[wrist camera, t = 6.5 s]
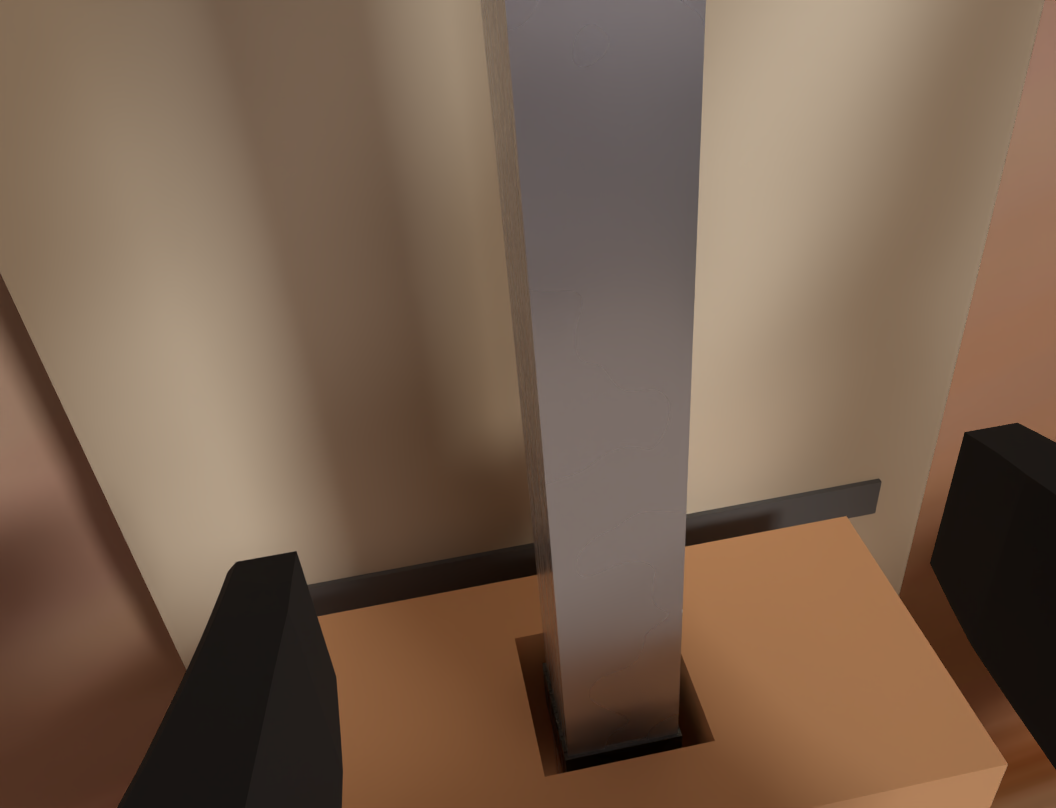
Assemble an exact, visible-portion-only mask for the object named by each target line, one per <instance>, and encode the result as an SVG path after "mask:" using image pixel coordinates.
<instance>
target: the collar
mask: <svg viewBox="0 0 1056 808" xmlns="http://www.w3.org/2000/svg"><path fill="white" fill-rule="evenodd" d="M317 617H318V620H319V623H320V627H321V630H322V633H323V636H324V639H325V642H326V646H327V649H328V652H329V655H330V658H331V661H332V664H333V668H334V671H335V674H336V679H337V692H338V705H339V718H340V732H341V747H342V763H343V788H342V808H990V806H991V804H992V801H993V799H994V797H995V794H996V792H997V789H998V787H999V785H1000V782H1001V780H1002V777H1003V775H1004V773H1005V770H1006V768H1007V765H1008V764H1007V762H1006V761H1005V759H1004V757H1003V756H1002V754H1001V753H1000V751H999V750H998V748H997V747H996V745H995V744H994V742H993V741H992V739H991V737H990V736H989V734H988V733H987V731H986V730H985V728H984V727H983V725H982V724H981V722H980V721H979V719H978V718H977V716H976V714H975V713H974V711H973V710H972V708H971V707H970V705H969V704H968V702H967V701H966V699H965V698H964V696H963V694H962V693H961V691H960V690H959V688H958V687H957V685H956V684H955V682H954V681H953V679H952V678H951V676H950V674H949V673H948V671H947V670H946V668H945V667H944V665H943V664H942V662H941V661H940V659H939V658H938V656H937V654H936V653H935V651H934V650H933V648H932V647H931V645H930V644H929V642H928V641H927V639H926V638H925V636H924V634H923V633H922V631H921V630H920V628H919V627H918V625H917V624H916V622H915V621H914V619H913V618H912V616H911V614H910V613H909V611H908V610H907V608H906V607H905V605H904V604H903V602H902V601H901V599H900V598H899V596H898V594H897V593H896V591H895V590H894V588H893V587H892V585H891V584H890V582H889V581H888V579H887V578H886V576H885V574H884V573H883V571H882V570H881V568H880V567H879V565H878V564H877V562H876V561H875V559H874V558H873V556H872V554H871V553H870V551H869V550H868V548H867V547H866V545H865V544H864V542H863V541H862V539H861V538H860V536H859V534H858V533H857V531H856V530H855V528H854V527H853V525H852V524H851V522H850V521H849V519H848V518H847V516H844V517H839V518H834V519H828V520H823V521H818V522H813V523H807V524H802V525H797V526H791V527H786V528H781V529H776V530H770V531H765V532H760V533H755V534H749V535H744V536H739V537H734V538H728V539H723V540H718V541H712V542H707V543H702V544H697V545H691V546H686V547H685V561H684V587H683V613H682V639H681V665H680V691H679V717H678V725H679V728H680V731H681V734H682V748H679V749H675V750H670V751H665V752H660V753H656V754H651V755H646V756H641V757H637V758H632V759H627V760H623V761H618V762H613V763H608V764H604V765H599V766H594V767H590V768H585V769H580V770H575V771H571V772H566V773H561V774H557V771H556V761H555V751H554V741H553V730H552V724H551V720H550V716H549V712H548V707H547V703H546V695H545V685H544V675H543V666H542V663H546V660H545V650H544V639H543V629H542V619H541V609H540V599H539V589H538V579H537V575H533V576H528V577H523V578H518V579H512V580H507V581H502V582H496V583H491V584H486V585H481V586H475V587H470V588H465V589H460V590H454V591H449V592H444V593H439V594H433V595H428V596H423V597H417V598H412V599H407V600H402V601H396V602H391V603H386V604H381V605H375V606H370V607H365V608H360V609H354V610H349V611H344V612H338V613H333V614H328V615H323V616H317Z"/></svg>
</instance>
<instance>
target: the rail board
mask: <svg viewBox="0 0 1056 808" xmlns="http://www.w3.org/2000/svg"><path fill="white" fill-rule="evenodd" d="M1044 1H1045V0H706V14H705V40H704V66H703V92H702V118H701V145H700V171H699V197H698V223H697V249H696V275H695V301H694V327H693V353H692V379H691V405H690V431H689V457H688V483H687V509H686V535H685V547H686V546H691V545H697V544H702V543H707V542H712V541H718V540H723V539H728V538H734V537H739V536H744V535H749V534H755V533H760V532H765V531H770V530H776V529H781V528H786V527H791V526H797V525H802V524H807V523H813V522H818V521H823V520H828V519H834V518H839V517H844V516H847V518H848V519H849V521H850V522H851V524H852V525H853V527H854V528H855V530H856V531H857V533H858V534H859V536H860V538H861V539H862V541H863V542H864V544H865V545H866V547H867V548H868V550H869V551H870V553H871V554H872V556H873V558H874V559H875V561H876V562H877V564H878V565H879V567H880V568H881V570H882V571H883V573H884V574H885V576H886V578H887V579H888V581H889V582H890V584H891V585H892V587H893V588H894V590H895V591H896V593H897V594H898V596H899V594H900V590H901V586H902V582H903V578H904V573H905V569H906V565H907V561H908V557H909V553H910V549H911V545H912V541H913V537H914V533H915V528H916V524H917V520H918V516H919V512H920V508H921V504H922V500H923V496H924V492H925V488H926V483H927V479H928V475H929V471H930V467H931V463H932V459H933V455H934V451H935V447H936V443H937V438H938V434H939V430H940V426H941V422H942V418H943V414H944V410H945V406H946V402H947V398H948V393H949V389H950V385H951V381H952V377H953V373H954V369H955V365H956V361H957V357H958V353H959V348H960V344H961V340H962V336H963V332H964V328H965V324H966V320H967V316H968V312H969V308H970V303H971V299H972V295H973V291H974V287H975V283H976V279H977V275H978V271H979V267H980V263H981V258H982V254H983V250H984V246H985V242H986V238H987V234H988V230H989V226H990V222H991V218H992V213H993V209H994V205H995V201H996V197H997V193H998V189H999V185H1000V181H1001V177H1002V173H1003V168H1004V164H1005V160H1006V156H1007V152H1008V148H1009V144H1010V140H1011V136H1012V132H1013V128H1014V123H1015V119H1016V115H1017V111H1018V107H1019V103H1020V99H1021V95H1022V91H1023V87H1024V83H1025V78H1026V74H1027V70H1028V66H1029V62H1030V58H1031V54H1032V50H1033V46H1034V42H1035V38H1036V33H1037V29H1038V25H1039V21H1040V17H1041V13H1042V9H1043V5H1044ZM0 274H1V276H2V278H3V280H4V282H5V284H6V286H7V288H8V291H9V293H10V295H11V297H12V299H13V301H14V303H15V306H16V308H17V310H18V312H19V314H20V316H21V318H22V320H23V323H24V325H25V327H26V329H27V331H28V333H29V335H30V338H31V340H32V342H33V344H34V346H35V348H36V350H37V352H38V355H39V357H40V359H41V361H42V363H43V365H44V367H45V370H46V372H47V374H48V376H49V378H50V380H51V382H52V384H53V387H54V389H55V391H56V393H57V395H58V397H59V399H60V402H61V404H62V406H63V408H64V410H65V412H66V414H67V416H68V419H69V421H70V423H71V425H72V427H73V429H74V431H75V434H76V436H77V438H78V440H79V442H80V444H81V446H82V448H83V451H84V453H85V455H86V457H87V459H88V461H89V463H90V466H91V468H92V470H93V472H94V474H95V476H96V478H97V480H98V483H99V485H100V487H101V489H102V491H103V493H104V495H105V498H106V500H107V502H108V504H109V506H110V508H111V510H112V512H113V515H114V517H115V519H116V521H117V523H118V525H119V527H120V530H121V532H122V534H123V536H124V538H125V540H126V542H127V544H128V547H129V549H130V551H131V553H132V555H133V557H134V559H135V562H136V564H137V566H138V568H139V570H140V572H141V574H142V576H143V579H144V581H145V583H146V585H147V587H148V589H149V591H150V594H151V596H152V598H153V600H154V602H155V604H156V606H157V608H158V611H159V613H160V615H161V617H162V619H163V621H164V623H165V626H166V628H167V630H168V632H169V634H170V636H171V638H172V640H173V643H174V645H175V647H176V649H177V651H178V653H179V655H180V658H181V660H182V662H183V664H184V666H185V668H186V670H187V668H188V666H189V664H190V661H191V659H192V657H193V655H194V653H195V650H196V648H197V646H198V644H199V641H200V639H201V637H202V634H203V632H204V630H205V627H206V625H207V623H208V620H209V618H210V615H211V613H212V610H213V608H214V606H215V603H216V601H217V598H218V596H219V593H220V591H221V588H222V585H223V583H224V580H225V577H226V575H227V572H228V571H229V570H230V568H231V567H232V566H233V565H234V564H235V563H236V562H238V561H244V560H249V559H255V558H260V557H266V556H272V555H277V554H283V553H288V552H294V551H297V554H298V557H299V560H300V563H301V566H302V570H303V573H304V576H305V579H306V582H307V585H308V589H309V592H310V595H311V598H312V601H313V604H314V608H315V611H316V614H317V616H323V615H328V614H333V613H338V612H344V611H349V610H354V609H360V608H365V607H370V606H375V605H381V604H386V603H391V602H396V601H402V600H407V599H412V598H417V597H423V596H428V595H433V594H439V593H444V592H449V591H454V590H460V589H465V588H470V587H475V586H481V585H486V584H491V583H496V582H502V581H507V580H512V579H518V578H523V577H528V576H533V575H537V569H536V559H535V548H534V538H533V528H532V518H531V508H530V498H529V488H528V478H527V468H526V457H525V447H524V437H523V427H522V417H521V407H520V397H519V387H518V377H517V366H516V356H515V346H514V336H513V326H512V316H511V306H510V296H509V286H508V276H507V265H506V255H505V245H504V235H503V225H502V215H501V205H500V195H499V185H498V174H497V164H496V154H495V144H494V134H493V124H492V114H491V104H490V94H489V83H488V73H487V63H486V53H485V43H484V33H483V23H482V13H481V3H480V0H0Z"/></svg>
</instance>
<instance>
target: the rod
mask: <svg viewBox="0 0 1056 808" xmlns="http://www.w3.org/2000/svg"><path fill="white" fill-rule="evenodd" d="M480 3H481V13H482V23H483V33H484V43H485V53H486V63H487V73H488V83H489V94H490V104H491V114H492V124H493V134H494V144H495V154H496V164H497V174H498V185H499V195H500V205H501V215H502V225H503V235H504V245H505V255H506V265H507V276H508V286H509V296H510V306H511V316H512V326H513V336H514V346H515V356H516V366H517V377H518V387H519V397H520V407H521V417H522V427H523V437H524V447H525V457H526V468H527V478H528V488H529V498H530V508H531V518H532V528H533V538H534V548H535V559H536V569H537V579H538V589H539V599H540V609H541V619H542V629H543V639H544V650H545V660H546V663H542V666H543V675H544V685H545V695H546V703H547V707H548V712H549V716H550V720H551V724H552V730H553V741H554V751H555V761H556V771H557V774H561V773H566V772H571V771H575V770H580V769H585V768H590V767H594V766H599V765H604V764H608V763H613V762H618V761H623V760H627V759H632V758H637V757H641V756H646V755H651V754H656V753H660V752H665V751H670V750H675V749H679V748H682V734H681V731H680V728H679V725H678V717H679V691H680V665H681V639H682V613H683V587H684V561H685V535H686V509H687V483H688V457H689V431H690V405H691V379H692V353H693V327H694V301H695V275H696V249H697V223H698V197H699V171H700V145H701V118H702V92H703V66H704V40H705V14H706V0H480Z"/></svg>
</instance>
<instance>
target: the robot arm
mask: <svg viewBox="0 0 1056 808" xmlns="http://www.w3.org/2000/svg"><path fill="white" fill-rule="evenodd" d="M930 564H931V566H932V568H933V570H934V572H935V574H936V576H937V578H938V581H939V583H940V585H941V587H942V589H943V591H944V593H945V595H946V597H947V599H948V601H949V603H950V605H951V607H952V609H953V611H954V613H955V615H956V617H957V619H958V621H959V623H960V625H961V626H962V628H963V630H964V632H965V634H966V636H967V638H968V640H969V642H970V643H971V645H972V647H973V648H974V650H975V651H976V653H977V654H978V656H979V658H980V659H981V661H982V662H983V664H984V665H985V667H986V668H987V670H988V671H989V673H990V674H991V676H992V677H993V679H994V680H995V681H996V683H997V684H998V686H999V687H1000V689H1001V690H1002V692H1003V693H1004V695H1005V696H1006V698H1007V699H1008V701H1009V702H1010V704H1011V705H1012V707H1013V708H1014V710H1015V711H1016V713H1017V714H1018V715H1019V717H1020V718H1021V720H1022V721H1023V723H1024V724H1025V726H1026V727H1027V729H1028V730H1029V731H1030V733H1031V734H1032V736H1033V737H1034V739H1035V740H1036V742H1037V743H1038V745H1039V746H1040V747H1041V749H1042V750H1043V752H1044V753H1045V755H1046V756H1047V758H1048V759H1049V761H1050V762H1051V763H1052V765H1053V766H1054V768H1055V769H1056V443H1055V442H1054V441H1052V440H1050V439H1048V438H1046V437H1044V436H1042V435H1040V434H1039V433H1037V432H1035V431H1033V430H1031V429H1029V428H1027V427H1025V426H1023V425H1021V424H1019V423H1014V424H1008V425H1003V426H997V427H991V428H986V429H980V430H975V431H969V432H965V433H964V437H963V441H962V444H961V448H960V452H959V456H958V460H957V463H956V467H955V471H954V475H953V479H952V482H951V486H950V490H949V494H948V497H947V501H946V505H945V509H944V513H943V516H942V520H941V524H940V528H939V532H938V535H937V539H936V543H935V547H934V551H933V554H932V558H931V562H930ZM342 788H343V763H342V747H341V732H340V718H339V705H338V692H337V679H336V674H335V671H334V668H333V664H332V661H331V658H330V655H329V652H328V649H327V646H326V642H325V639H324V636H323V633H322V630H321V627H320V623H319V620H318V617H317V614H316V611H315V608H314V604H313V601H312V598H311V595H310V592H309V589H308V585H307V582H306V579H305V576H304V573H303V570H302V566H301V563H300V560H299V557H298V554H297V551H294V552H288V553H283V554H277V555H272V556H266V557H260V558H255V559H249V560H244V561H238V562H236V563H235V564H234V565H233V566H232V567H231V568H230V570H229V571H228V572H227V575H226V577H225V580H224V583H223V585H222V588H221V591H220V593H219V596H218V598H217V601H216V603H215V606H214V608H213V610H212V613H211V615H210V618H209V620H208V623H207V625H206V627H205V630H204V632H203V634H202V637H201V639H200V641H199V644H198V646H197V648H196V650H195V653H194V655H193V657H192V659H191V661H190V664H189V666H188V668H187V670H186V673H185V675H184V677H183V679H182V681H181V684H180V686H179V688H178V690H177V692H176V694H175V696H174V698H173V700H172V702H171V704H170V706H169V708H168V710H167V712H166V714H165V716H164V718H163V721H162V723H161V725H160V727H159V729H158V731H157V733H156V735H155V737H154V739H153V741H152V743H151V745H150V747H149V749H148V751H147V753H146V755H145V757H144V759H143V761H142V763H141V765H140V767H139V769H138V771H137V773H136V774H135V776H134V778H133V780H132V782H131V784H130V785H129V787H128V789H127V791H126V793H125V794H124V796H123V798H122V800H121V802H120V803H119V805H118V807H117V808H342Z"/></svg>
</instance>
